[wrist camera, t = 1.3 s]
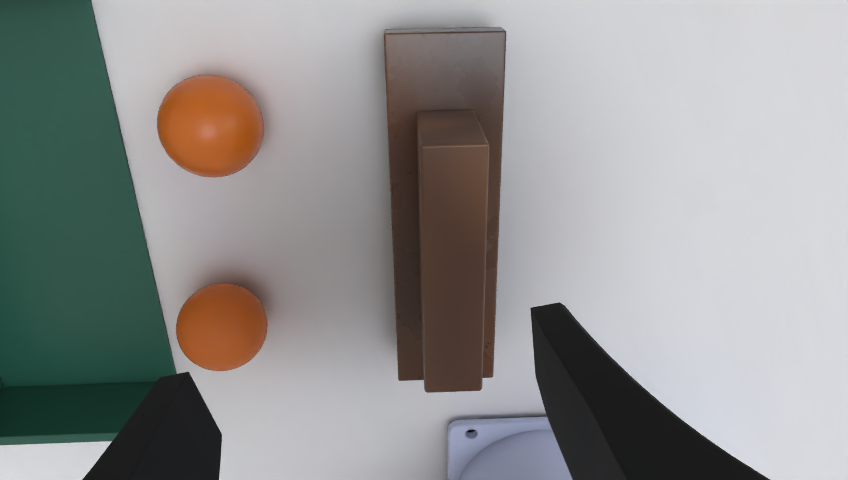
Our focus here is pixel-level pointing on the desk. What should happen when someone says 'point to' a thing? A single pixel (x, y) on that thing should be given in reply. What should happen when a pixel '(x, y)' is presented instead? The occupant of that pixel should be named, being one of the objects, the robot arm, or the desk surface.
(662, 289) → the desk surface
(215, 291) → the orange ball
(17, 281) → the dustpan
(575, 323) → the robot arm
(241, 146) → the small orange ball
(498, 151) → the brush
